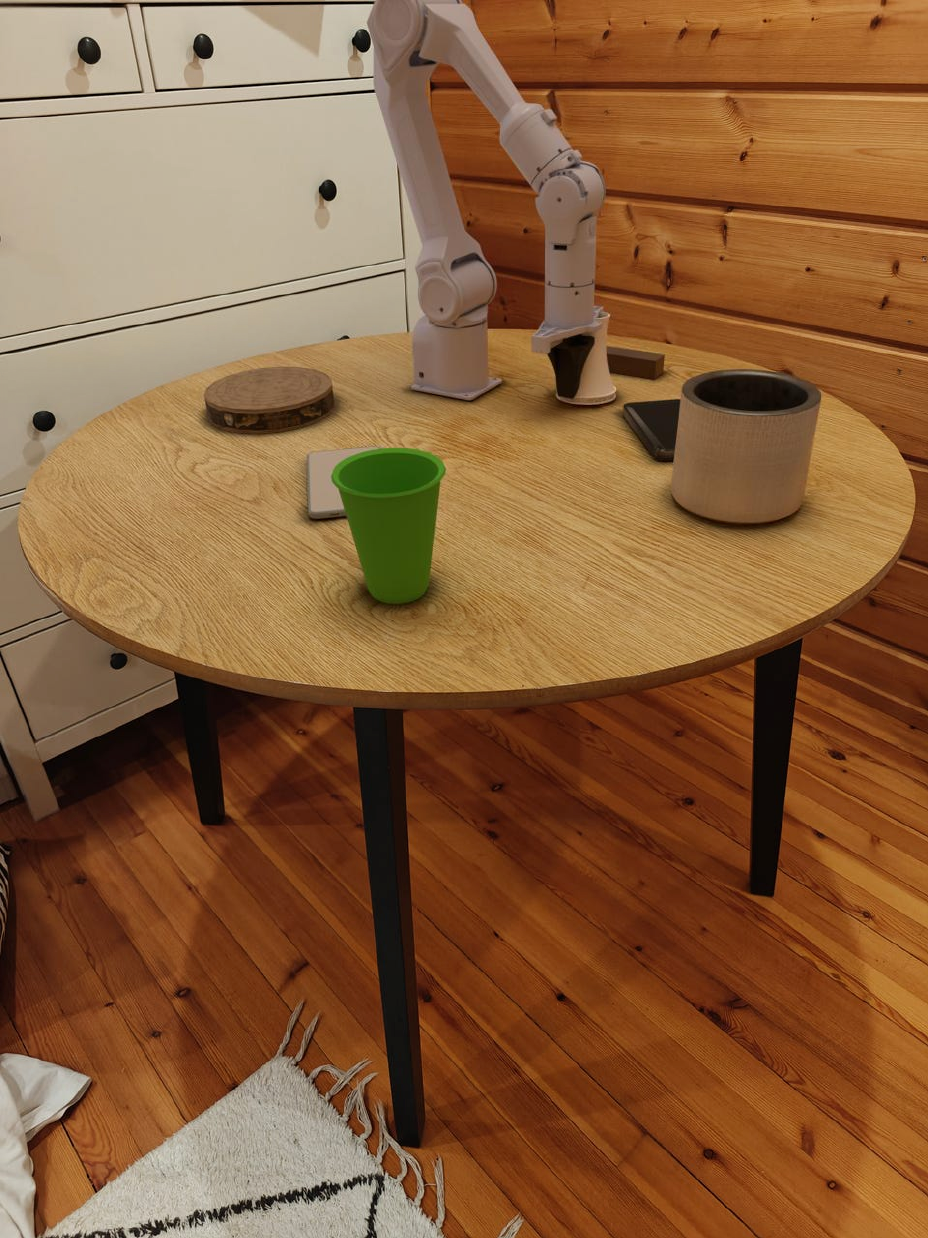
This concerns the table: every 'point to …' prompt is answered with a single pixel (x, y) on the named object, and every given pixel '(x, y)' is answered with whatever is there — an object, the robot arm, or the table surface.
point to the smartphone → (326, 481)
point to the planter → (744, 445)
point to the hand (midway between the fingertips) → (567, 396)
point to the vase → (595, 371)
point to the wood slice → (269, 399)
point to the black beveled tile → (655, 425)
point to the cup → (392, 517)
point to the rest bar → (635, 362)
